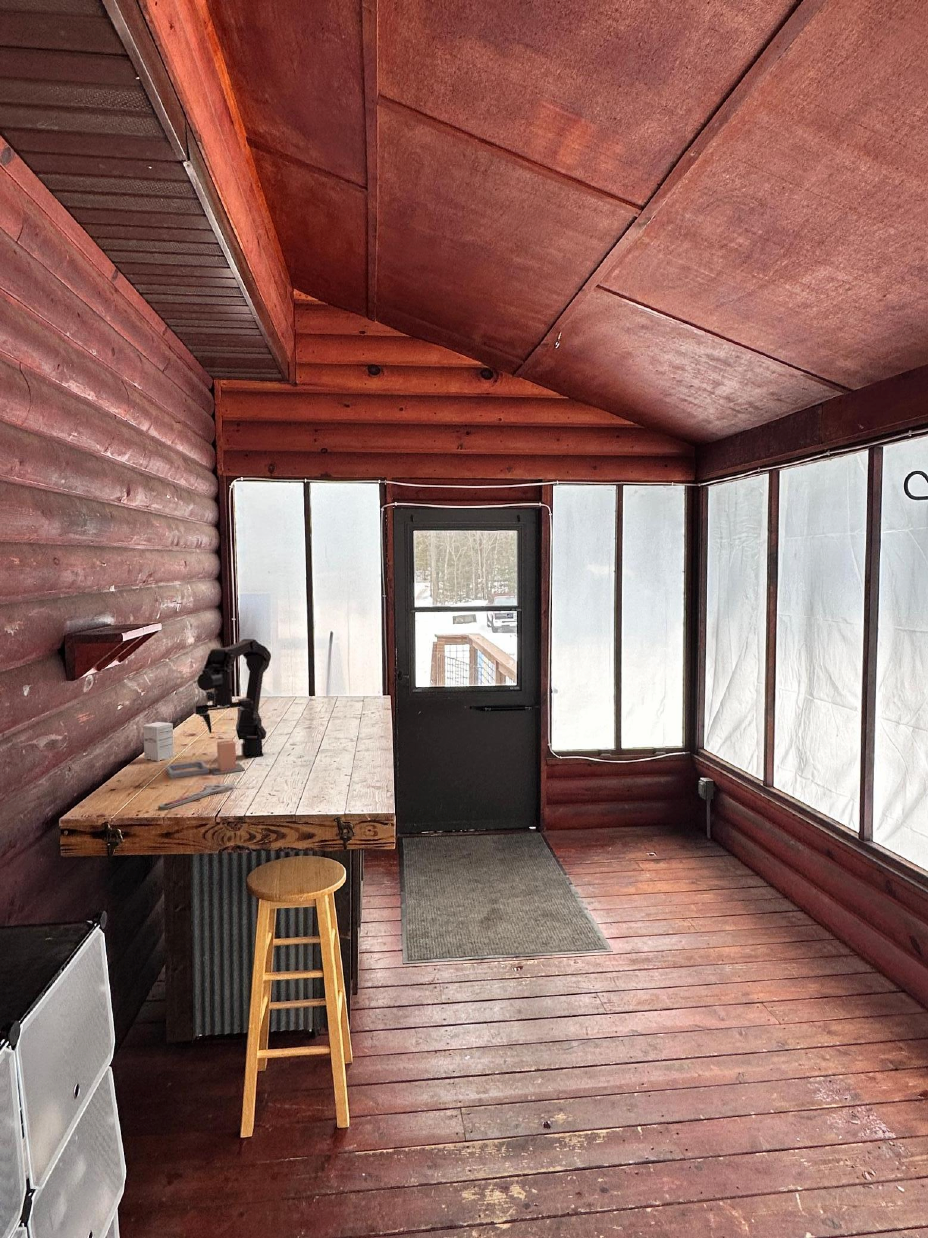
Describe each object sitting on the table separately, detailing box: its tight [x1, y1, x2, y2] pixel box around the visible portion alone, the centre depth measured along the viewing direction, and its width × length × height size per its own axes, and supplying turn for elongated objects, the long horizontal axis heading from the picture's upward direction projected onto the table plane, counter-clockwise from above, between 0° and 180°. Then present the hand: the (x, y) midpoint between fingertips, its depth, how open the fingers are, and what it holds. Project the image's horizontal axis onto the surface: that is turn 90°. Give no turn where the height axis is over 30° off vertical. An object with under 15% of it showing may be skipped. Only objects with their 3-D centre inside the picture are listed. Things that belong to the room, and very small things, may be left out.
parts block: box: [216, 739, 237, 771], centre depth 247 cm, size 5×5×9 cm
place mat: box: [208, 762, 246, 776], centre depth 247 cm, size 10×10×1 cm
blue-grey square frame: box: [166, 760, 209, 779], centre depth 246 cm, size 12×12×2 cm
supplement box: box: [142, 721, 175, 762], centre depth 264 cm, size 7×7×13 cm
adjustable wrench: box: [157, 781, 236, 810], centre depth 218 cm, size 8×26×2 cm, turn 143°
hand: (224, 731), depth 248 cm, fingers open, 9 cm apart
